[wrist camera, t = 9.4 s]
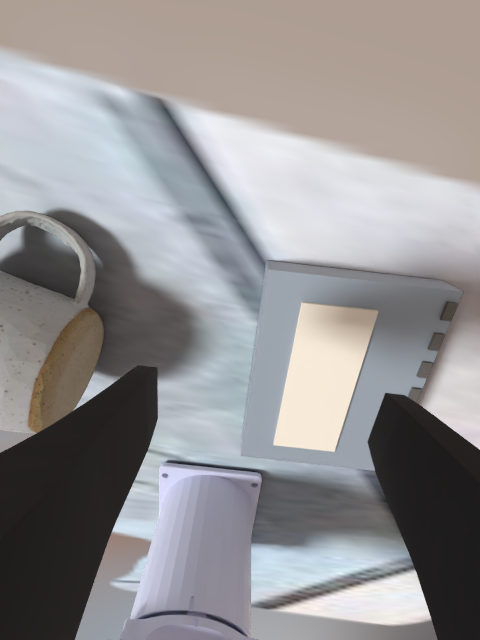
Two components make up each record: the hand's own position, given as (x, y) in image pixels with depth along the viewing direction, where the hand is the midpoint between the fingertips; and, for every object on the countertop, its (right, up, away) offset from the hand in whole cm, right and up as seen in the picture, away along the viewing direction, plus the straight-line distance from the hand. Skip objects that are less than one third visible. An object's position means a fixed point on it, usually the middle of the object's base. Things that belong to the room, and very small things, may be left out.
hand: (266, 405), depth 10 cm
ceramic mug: (-13, +4, +9) cm, 16 cm away
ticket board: (+5, 0, +10) cm, 11 cm away
